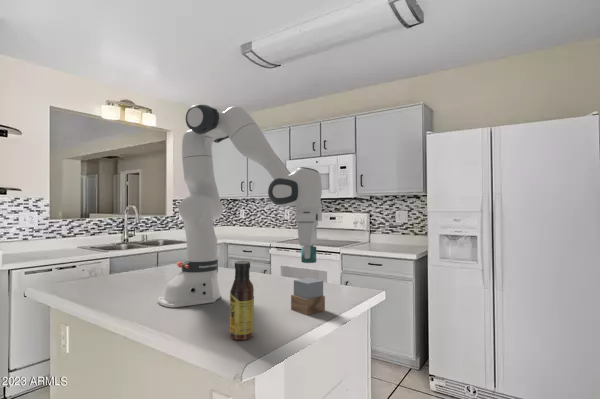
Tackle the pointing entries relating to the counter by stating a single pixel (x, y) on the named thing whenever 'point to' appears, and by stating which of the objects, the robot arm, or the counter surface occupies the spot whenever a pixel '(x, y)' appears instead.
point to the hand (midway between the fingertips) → (308, 257)
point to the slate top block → (308, 288)
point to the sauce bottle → (242, 303)
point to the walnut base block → (307, 304)
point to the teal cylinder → (312, 258)
